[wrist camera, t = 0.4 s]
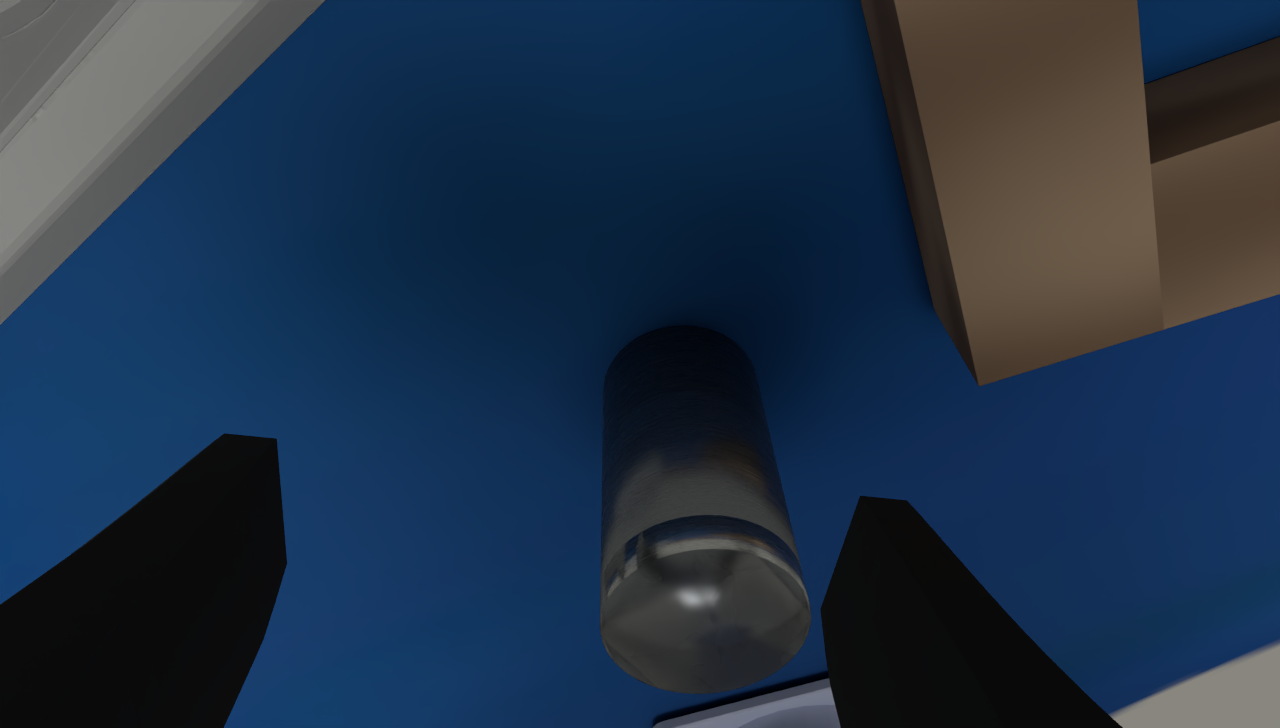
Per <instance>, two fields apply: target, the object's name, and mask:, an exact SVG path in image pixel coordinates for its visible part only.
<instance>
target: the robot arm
mask: <svg viewBox="0 0 1280 728" xmlns="http://www.w3.org/2000/svg"><path fill="white" fill-rule="evenodd" d="M286 565H287V558H286V546H285V534H284V522H283V510H282V498H281V486H280V474H279V462H278V450H277V439H274V438H264V437H254V436H244V435H233V434H223V435H222V436H220V437H219V438H218V439H216V440H215V441H214V442H213V443H211V444H210V445H209V446H208V447H206V448H205V449H204V450H202V451H201V452H200V453H199V454H197V455H196V456H195V457H194V458H192V459H191V460H190V461H189V462H188V463H186V464H185V465H184V466H183V467H181V468H180V469H179V470H178V471H177V472H175V473H174V474H173V475H172V476H170V477H169V478H168V479H167V480H166V481H164V482H163V483H162V484H161V485H159V486H158V487H157V488H156V489H154V490H153V491H152V492H151V493H149V494H148V495H147V496H146V497H145V498H143V499H142V500H141V501H140V502H138V503H137V504H136V505H135V506H133V507H132V508H131V509H130V510H128V511H127V512H126V513H124V514H123V515H122V516H120V517H119V518H118V519H117V520H115V521H114V522H113V523H111V524H110V525H109V526H108V527H106V528H105V529H104V530H102V531H101V532H100V533H99V534H97V535H96V536H95V537H93V538H92V539H91V540H89V541H88V542H87V543H86V544H84V545H83V546H82V547H80V548H79V549H78V550H76V551H75V552H74V553H72V554H71V555H70V556H68V557H67V558H66V559H64V560H63V561H61V562H60V563H59V564H57V565H56V566H54V567H53V568H51V569H50V570H49V571H47V572H46V573H44V574H43V575H42V576H40V577H39V578H37V579H36V580H35V581H33V582H32V583H30V584H29V585H27V586H26V587H25V588H23V589H22V590H20V591H19V592H18V593H16V594H15V595H13V596H12V597H11V598H9V599H8V600H6V601H5V602H3V603H2V604H0V728H224V726H225V724H226V721H227V719H228V717H229V715H230V713H231V710H232V708H233V706H234V704H235V702H236V700H237V697H238V695H239V693H240V691H241V688H242V686H243V684H244V682H245V680H246V677H247V675H248V673H249V671H250V668H251V666H252V664H253V662H254V660H255V657H256V655H257V653H258V650H259V648H260V646H261V644H262V641H263V639H264V636H265V633H266V630H267V627H268V623H269V620H270V617H271V614H272V611H273V608H274V605H275V602H276V598H277V595H278V592H279V588H280V585H281V582H282V578H283V575H284V572H285V568H286ZM821 618H822V626H823V635H824V644H825V653H826V660H827V667H828V674H829V678H827V679H823V680H819V681H815V682H811V683H808V684H804V685H800V686H796V687H792V688H788V689H785V690H781V691H777V692H773V693H769V694H765V695H761V696H758V697H754V698H750V699H746V700H742V701H738V702H734V703H731V704H727V705H723V706H719V707H715V708H711V709H708V710H704V711H700V712H696V713H692V714H688V715H684V716H681V717H677V718H673V719H669V720H665V721H662V722H659V723H657V724H656V725H655V726H654V727H653V728H1122V727H1121V726H1120V725H1119V724H1118V723H1117V722H1116V721H1114V720H1113V719H1112V718H1111V717H1110V716H1109V715H1108V714H1107V713H1106V712H1105V711H1104V710H1103V709H1102V708H1100V707H1099V706H1098V705H1097V704H1096V703H1095V702H1094V701H1093V700H1092V699H1091V698H1090V697H1089V696H1088V695H1087V694H1086V693H1085V692H1084V691H1083V690H1082V689H1081V688H1080V687H1079V686H1078V685H1077V684H1076V683H1075V682H1073V681H1072V680H1071V679H1070V678H1069V677H1068V676H1067V675H1066V674H1065V673H1064V672H1063V671H1062V670H1061V669H1060V668H1059V667H1058V666H1057V665H1056V664H1055V663H1054V662H1053V661H1052V660H1051V659H1050V658H1049V657H1048V656H1047V655H1046V654H1045V653H1044V652H1043V651H1042V650H1041V649H1040V648H1039V646H1038V645H1037V644H1036V643H1035V642H1034V641H1033V640H1032V639H1031V638H1030V637H1029V636H1028V635H1027V634H1026V633H1025V632H1024V631H1023V630H1022V629H1021V628H1020V627H1019V625H1018V624H1017V623H1016V622H1015V621H1014V620H1013V619H1012V618H1011V617H1010V616H1009V615H1008V614H1007V612H1006V611H1005V610H1004V609H1003V608H1002V607H1001V606H1000V605H999V604H998V603H997V602H996V600H995V599H994V598H993V597H992V596H991V595H990V594H989V593H988V592H987V590H986V589H985V588H984V587H983V586H982V585H981V584H980V583H979V581H978V580H977V579H976V578H975V577H974V576H973V575H972V574H971V572H970V571H969V570H968V569H967V568H966V567H965V566H964V564H963V563H962V562H961V561H960V560H959V559H958V558H957V556H956V555H955V554H954V553H953V552H952V551H951V550H950V548H949V547H948V546H947V545H946V544H945V543H944V542H943V540H942V539H941V538H940V537H939V536H938V535H937V533H936V532H935V531H934V530H933V529H932V528H931V527H930V526H929V524H928V523H927V522H926V521H925V520H924V519H923V518H922V516H921V515H920V514H919V513H918V512H917V511H916V510H915V509H914V508H913V507H912V506H911V505H910V503H909V502H908V501H907V500H896V499H886V498H876V497H866V496H860V498H859V501H858V504H857V507H856V509H855V512H854V515H853V518H852V521H851V524H850V527H849V529H848V532H847V535H846V538H845V541H844V544H843V547H842V549H841V552H840V555H839V558H838V561H837V564H836V567H835V569H834V572H833V575H832V578H831V581H830V584H829V587H828V589H827V592H826V595H825V598H824V601H823V604H822V607H821Z"/></svg>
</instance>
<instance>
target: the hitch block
mask: <svg viewBox="0 0 1280 728" xmlns="http://www.w3.org/2000/svg"><path fill="white" fill-rule="evenodd" d="M861 5H862V9H863V13H864V17H865V21H866V25H867V30H868V34H869V38H870V42H871V46H872V51H873V55H874V59H875V63H876V67H877V72H878V76H879V80H880V84H881V88H882V93H883V97H884V101H885V105H886V109H887V114H888V118H889V122H890V126H891V130H892V135H893V139H894V143H895V147H896V151H897V155H898V160H899V164H900V168H901V172H902V176H903V181H904V185H905V189H906V193H907V197H908V202H909V206H910V210H911V214H912V218H913V223H914V227H915V231H916V235H917V239H918V244H919V248H920V252H921V256H922V260H923V265H924V269H925V273H926V277H927V281H928V285H929V290H930V294H931V298H932V302H933V306H934V310H935V312H936V314H937V315H938V317H939V319H940V321H941V322H942V324H943V326H944V327H945V329H946V331H947V333H948V334H949V336H950V338H951V339H952V341H953V343H954V345H955V346H956V348H957V350H958V351H959V353H960V355H961V357H962V358H963V360H964V362H965V363H966V365H967V367H968V369H969V370H970V372H971V374H972V375H973V377H974V379H975V381H976V382H977V384H978V386H982V385H985V384H988V383H991V382H995V381H998V380H1001V379H1004V378H1008V377H1011V376H1014V375H1017V374H1021V373H1024V372H1027V371H1030V370H1034V369H1037V368H1040V367H1043V366H1047V365H1050V364H1053V363H1056V362H1060V361H1063V360H1066V359H1069V358H1073V357H1076V356H1079V355H1082V354H1086V353H1089V352H1092V351H1095V350H1099V349H1102V348H1105V347H1108V346H1112V345H1115V344H1118V343H1121V342H1125V341H1128V340H1131V339H1134V338H1138V337H1141V336H1144V335H1148V334H1151V333H1154V332H1157V331H1161V330H1164V329H1167V328H1170V327H1174V326H1177V325H1180V324H1183V323H1187V322H1190V321H1193V320H1196V319H1200V318H1203V317H1206V316H1209V315H1213V314H1216V313H1219V312H1222V311H1226V310H1229V309H1232V308H1235V307H1239V306H1242V305H1245V304H1248V303H1252V302H1255V301H1258V300H1261V299H1265V298H1268V297H1271V296H1274V295H1278V294H1280V37H1278V38H1275V39H1272V40H1269V41H1266V42H1264V43H1261V44H1258V45H1255V46H1252V47H1249V48H1247V49H1244V50H1241V51H1238V52H1235V53H1233V54H1230V55H1227V56H1224V57H1221V58H1218V59H1216V60H1213V61H1210V62H1207V63H1204V64H1201V65H1199V66H1196V67H1193V68H1190V69H1187V70H1184V71H1182V72H1179V73H1176V74H1173V75H1170V76H1168V77H1165V78H1162V79H1159V80H1156V81H1153V82H1151V83H1148V84H1145V85H1144V78H1143V66H1142V54H1141V41H1140V29H1139V17H1138V5H1137V0H861Z"/></svg>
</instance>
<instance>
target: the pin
mask: <svg viewBox="0 0 1280 728" xmlns="http://www.w3.org/2000/svg"><path fill="white" fill-rule="evenodd" d="M810 622H811V611H810V604H809V600H808V596H807V591H806V587H805V583H804V579H803V574H802V570H801V566H800V562H799V557H798V553H797V549H796V544H795V540H794V536H793V532H792V527H791V523H790V519H789V515H788V510H787V506H786V502H785V497H784V493H783V489H782V485H781V480H780V476H779V472H778V467H777V463H776V459H775V455H774V450H773V446H772V442H771V438H770V433H769V429H768V425H767V420H766V416H765V412H764V408H763V403H762V399H761V395H760V391H759V386H758V382H757V378H756V374H755V371H754V367H753V365H752V363H751V361H750V359H749V358H748V356H747V355H746V353H745V352H744V351H743V350H742V349H741V348H740V347H739V346H738V345H737V344H736V343H734V342H733V341H732V340H730V339H729V338H727V337H725V336H724V335H722V334H719V333H717V332H715V331H712V330H709V329H705V328H700V327H694V326H673V327H666V328H662V329H658V330H654V331H652V332H649V333H647V334H644V335H642V336H640V337H639V338H637V339H635V340H634V341H632V342H631V343H629V344H628V345H627V346H626V347H625V348H624V349H623V350H621V351H620V352H619V354H618V355H617V356H616V357H615V359H614V360H613V362H612V363H611V365H610V367H609V369H608V372H607V374H606V377H605V381H604V390H603V452H602V524H601V595H600V631H601V637H602V641H603V644H604V646H605V648H606V650H607V652H608V654H609V655H610V657H611V658H612V659H613V661H614V662H615V663H616V664H617V665H618V666H619V667H620V668H621V669H622V670H624V671H625V672H626V673H628V674H629V675H631V676H632V677H634V678H636V679H637V680H639V681H641V682H644V683H646V684H648V685H651V686H654V687H657V688H660V689H664V690H668V691H673V692H681V693H694V694H704V693H717V692H724V691H729V690H734V689H738V688H741V687H744V686H748V685H751V684H753V683H755V682H758V681H760V680H762V679H764V678H766V677H768V676H770V675H772V674H773V673H775V672H776V671H778V670H779V669H781V668H782V667H783V666H784V665H786V664H787V663H788V662H789V661H790V660H791V659H792V658H793V657H794V656H795V655H796V654H797V652H798V651H799V649H800V648H801V647H802V645H803V643H804V641H805V639H806V637H807V635H808V632H809V628H810Z"/></svg>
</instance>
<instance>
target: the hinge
mask: <svg viewBox="0 0 1280 728" xmlns="http://www.w3.org/2000/svg"><path fill="white" fill-rule="evenodd" d="M324 1H325V0H0V325H1V324H2V323H3V322H4V321H5V320H6V319H7V318H8V317H9V316H10V315H11V314H12V313H13V312H14V311H15V310H16V309H17V308H18V307H19V306H20V305H21V304H22V303H23V302H24V301H25V300H26V299H27V298H28V297H29V296H30V295H31V294H32V293H33V292H34V291H35V290H36V289H37V288H38V287H39V286H40V285H41V284H42V283H43V282H44V281H45V280H46V279H47V278H48V277H49V276H50V275H51V274H52V273H53V272H54V271H55V270H56V269H57V268H58V267H59V266H60V265H61V264H62V263H63V262H64V261H65V260H66V259H67V258H68V257H69V256H70V255H71V254H72V253H73V252H74V251H75V250H76V249H77V248H78V247H79V246H80V245H81V244H82V243H83V242H84V241H85V240H86V239H87V238H88V237H89V236H90V235H91V234H92V233H93V232H94V231H95V230H96V229H97V228H98V227H99V226H100V225H101V224H102V223H103V222H104V221H105V220H106V219H107V218H108V217H109V216H110V215H111V214H112V213H113V212H114V211H115V210H116V209H117V208H118V207H119V206H120V205H121V204H122V203H123V202H124V201H125V200H126V199H127V198H128V197H129V196H130V195H131V194H132V193H133V192H134V191H135V190H136V189H137V188H138V187H139V186H140V185H141V184H142V183H143V182H144V181H145V180H146V179H147V178H148V177H149V176H150V175H151V174H152V173H153V172H154V171H155V170H156V169H157V168H158V167H159V166H160V165H161V164H162V163H163V162H164V161H165V160H166V159H167V158H168V157H169V156H170V155H171V154H172V153H173V152H174V151H175V150H176V149H177V148H178V147H179V146H180V145H181V144H182V143H183V142H184V141H185V140H186V139H187V138H188V137H189V136H190V135H191V134H192V133H193V132H194V131H195V130H196V129H197V128H198V127H199V126H200V125H201V124H202V123H203V122H204V121H205V120H206V119H207V118H208V117H209V116H210V115H211V114H212V113H213V112H214V111H215V110H216V109H217V108H218V107H219V106H220V105H221V104H222V103H223V102H224V101H225V100H226V99H227V98H228V97H229V96H230V95H231V94H232V93H233V92H234V91H235V90H236V89H237V88H238V87H239V86H240V85H241V84H242V83H243V82H244V81H245V80H246V79H247V78H248V77H249V76H250V75H251V74H252V73H253V72H254V71H255V70H256V69H257V68H258V67H259V66H260V65H261V64H262V63H263V62H264V61H265V60H266V59H267V58H268V57H269V56H270V55H271V54H272V53H273V52H274V51H275V50H276V49H277V48H278V47H279V46H280V45H281V44H282V43H283V42H284V41H285V40H286V39H287V38H288V37H289V36H290V35H291V34H292V33H293V32H294V31H295V30H296V29H297V28H298V27H299V26H300V25H301V24H302V23H303V22H304V21H305V20H306V19H307V18H308V17H309V16H310V15H311V14H312V13H313V12H314V11H315V10H316V9H317V8H318V7H319V6H320V5H321V4H322V3H323V2H324Z"/></svg>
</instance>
